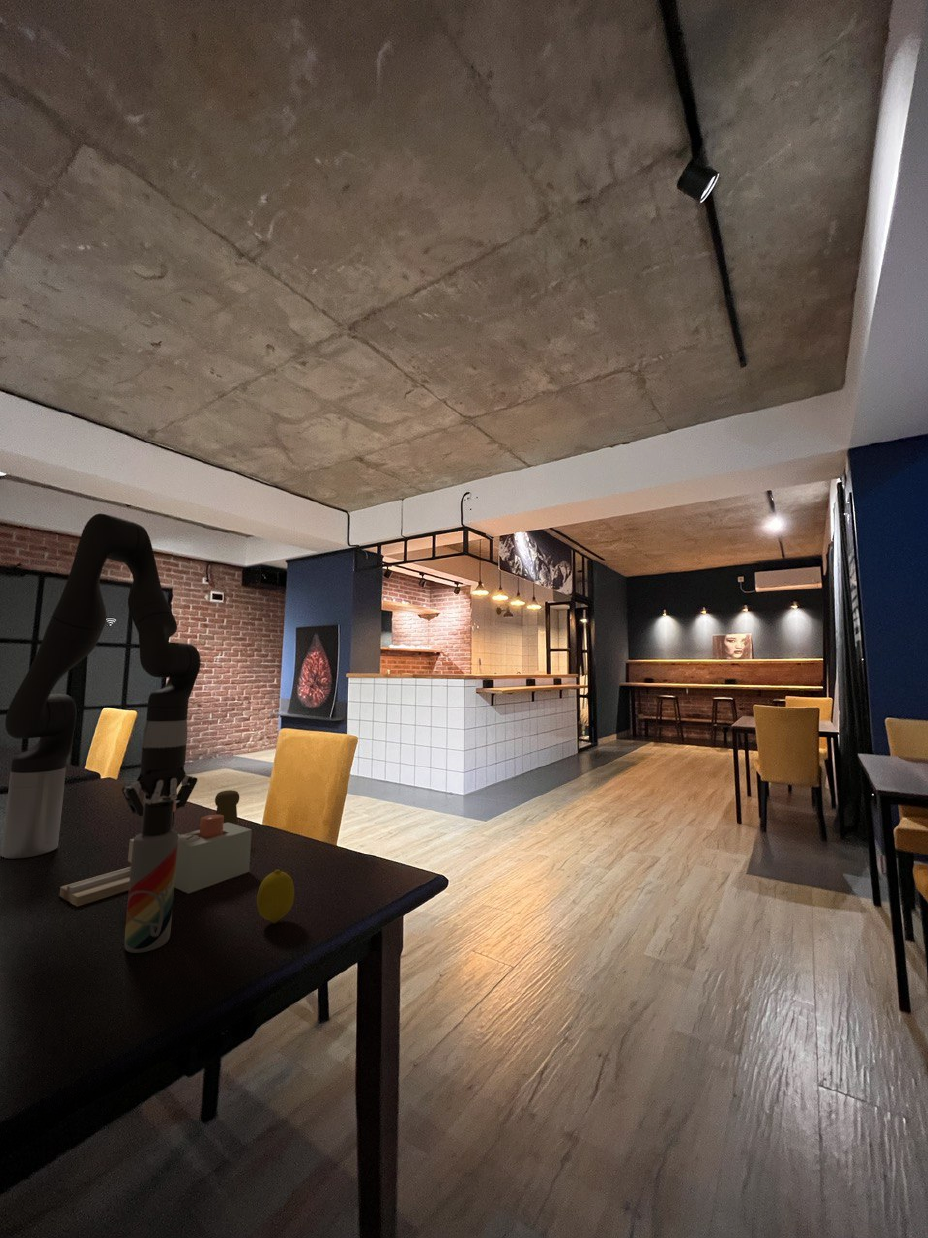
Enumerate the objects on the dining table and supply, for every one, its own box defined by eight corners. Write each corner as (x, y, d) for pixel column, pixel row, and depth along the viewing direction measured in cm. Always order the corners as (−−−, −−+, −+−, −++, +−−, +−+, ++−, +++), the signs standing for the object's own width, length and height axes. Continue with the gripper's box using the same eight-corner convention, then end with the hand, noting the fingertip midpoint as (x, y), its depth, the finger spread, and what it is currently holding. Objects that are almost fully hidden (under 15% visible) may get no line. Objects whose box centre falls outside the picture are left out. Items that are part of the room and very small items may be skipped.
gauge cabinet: (164, 882, 92) (168, 835, 93) (225, 862, 102) (228, 820, 103) (188, 893, 88) (192, 844, 89) (249, 871, 98) (251, 827, 99)
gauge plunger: (194, 850, 95) (196, 818, 96) (214, 844, 98) (216, 813, 99) (206, 855, 93) (208, 821, 94) (226, 849, 96) (228, 816, 97)
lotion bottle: (135, 958, 68) (148, 807, 70) (116, 946, 71) (129, 801, 73) (178, 940, 73) (188, 799, 75) (157, 929, 76) (168, 794, 78)
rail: (59, 896, 86) (62, 868, 87) (200, 853, 107) (202, 831, 108) (76, 906, 82) (79, 878, 83) (219, 860, 103) (221, 838, 104)
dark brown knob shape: (227, 845, 112) (230, 795, 114) (203, 843, 114) (207, 793, 115) (244, 837, 118) (247, 789, 119) (221, 834, 119) (225, 787, 121)
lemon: (300, 918, 80) (302, 866, 81) (276, 935, 75) (279, 879, 76) (271, 912, 82) (274, 861, 83) (247, 928, 77) (250, 873, 78)
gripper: (189, 738, 106) (183, 822, 104) (116, 745, 95) (107, 839, 93) (209, 741, 102) (203, 828, 100) (135, 749, 91) (126, 848, 89)
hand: (157, 833), depth 97 cm, fingers closed on carriage, 2 cm apart
